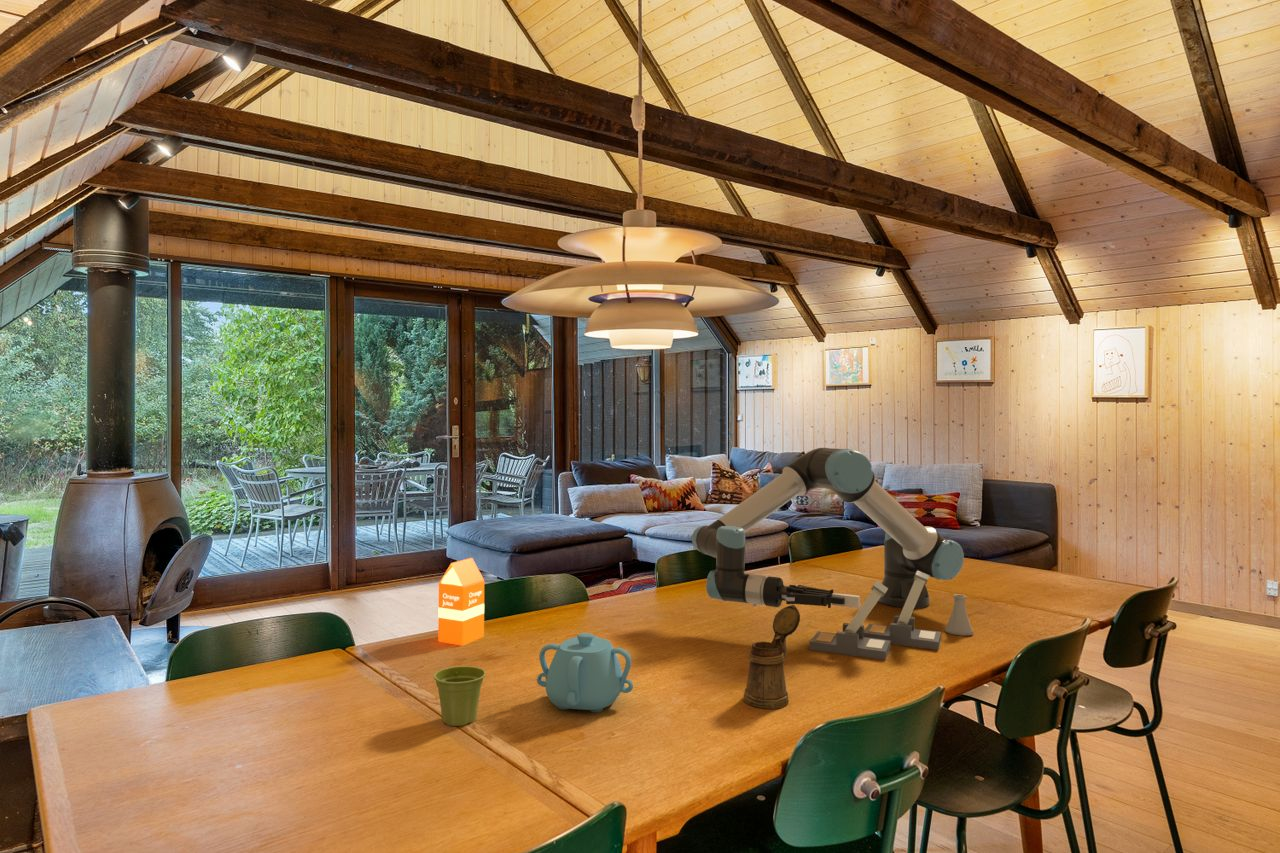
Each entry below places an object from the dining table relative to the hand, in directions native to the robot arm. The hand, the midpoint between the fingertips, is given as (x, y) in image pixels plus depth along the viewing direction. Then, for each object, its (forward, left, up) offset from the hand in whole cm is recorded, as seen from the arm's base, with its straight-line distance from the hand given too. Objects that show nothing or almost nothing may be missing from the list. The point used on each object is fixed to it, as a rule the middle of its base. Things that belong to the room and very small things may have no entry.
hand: (859, 602), depth 187 cm
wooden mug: (+27, -32, -12) cm, 44 cm away
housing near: (-1, -1, -12) cm, 12 cm away
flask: (-10, +35, -12) cm, 38 cm away
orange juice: (-25, -96, -12) cm, 100 cm away
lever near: (-2, -2, -8) cm, 9 cm away
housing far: (-6, +16, -12) cm, 21 cm away
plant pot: (+28, -94, -12) cm, 99 cm away
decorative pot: (+23, -70, -12) cm, 75 cm away
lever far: (-7, +15, -9) cm, 19 cm away
